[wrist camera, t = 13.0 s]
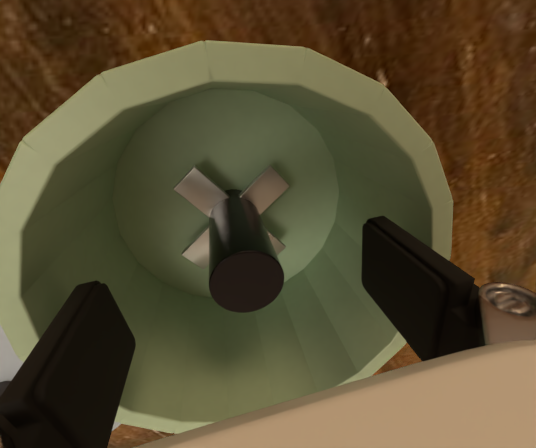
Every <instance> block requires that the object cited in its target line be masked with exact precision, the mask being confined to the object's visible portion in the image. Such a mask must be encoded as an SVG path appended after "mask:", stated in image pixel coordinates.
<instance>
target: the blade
mask: <svg viewBox="0 0 536 448" xmlns="http://www.w3.org/2000/svg"><path fill="white" fill-rule="evenodd" d="M289 187H290V185H289V184H288V183H287V182H286V181H285V180H284V178H283V177H282V176H281V175H280V174H279V173H278V172H277V171H276V170H275V169H274V168H273V167H272V166H271V165H270V164H269V165H268V166H267V167H266V168H265V169H264V170H263V171H262V172H261V173H260V174H259V175H258V176H257V177H256V178H255V179H254V180H253V181H252V182H251V183H250V184H249V185H248V186H247V187H246V188H245V189H244V190H243V191H241V190H237V189H229V190H225V191H224V190H223V189H221V188H220V187H219V186H218V185H217V184H216V183H215V182H214V181H212V180H211V179H210V178H209V177H208V176H207V175H206V174H204V173H203V172H202V171H201V170H200V169H199V168H198V167H196V166H193V168H192V169H191V170H190V171H189V172H188V173H187V174H186V175H185V176H184V177H183V178H182V179H181V180H180V181H179V182H178V184H177V185H176V186H175V187H174V190H175V191H176V192H177V193H179V194H180V195H181V196H182V197H184V198H185V199H186V200H187V201H189V202H190V203H191V204H192V205H194V206H195V207H196V208H197V209H199V210H200V211H201V212H202V213H204V214H205V215H206V216H207V217H209V225H208V226H207V227H206V228H205V229H204V230H203V231H202V232H201V233H200V234H199V235H198V236H197V237H196V238H195V239H194V240H193V241H192V242H191V243H190V244H189V245H188V246H187V247H186V248H185V249H184V250H183V251H182V256H184V257H185V258H187V259H188V260H190V261H191V262H193V263H194V264H196V265H197V266H199V267H200V268H202V269H205V268H206V267H207V266H208V265H209V291H210V294H211V296H212V298H213V299H214V301H215V302H216V303H217V304H218V305H220V306H221V307H222V308H224V309H226V310H229V311H232V312H238V313H247V312H253V311H257V310H259V309H262V308H264V307H266V306H267V305H269V304H270V303H271V302H273V301H274V300H275V299H276V298H277V296H278V295H279V294H280V292H281V290H282V287H283V284H284V271H283V269H282V266H281V264H280V261H279V259H278V257H277V255H278V254H279V253H280V252H281V251H283V250H284V249H285V248H286V246H285V244H284V243H283V242H282V241H281V240H279V239H278V238H277V237H276V236H275V235H274V234H273V233H271V232H270V231H269V230H268V229H267V228H266V227H265V226H264V223H263V221H262V218H261V216H260V215H261V214H262V213H263V212H264V211H265V210H266V209H267V208H268V207H269V206H270V205H271V204H272V203H273V202H274V201H275V200H276V199H277V198H278V197H279V196H280V195H281V194H282V193H283V192H284V191H286V190H287V189H288V188H289Z"/></svg>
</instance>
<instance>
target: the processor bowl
mask: <svg viewBox="0 0 536 448" xmlns="http://www.w3.org/2000/svg"><path fill="white" fill-rule="evenodd" d="M22 140H23V141H21V142H20V143H19V145H18V147H17V149H16V152H15V154H14V156H13V158H12V160H11V162H10V165H9V167H8V169H7V171H6V173H5V175H4V178H3V180H2V182H1V184H0V325H1V327H2V329H3V331H4V333H5V334H6V336H7V338H8V340H9V342H10V344H11V346H12V348H13V350H14V352H15V354H16V355H17V356H18V358H19V359H20V360H21V361H22V362H23V363H24V361H25V360H26V359H27V357H28V356H29V354H30V353H31V351H32V350H33V348H34V347H35V345H36V344H37V342H38V341H39V340H40V338H41V337H42V335H43V334H44V332H45V331H46V329H47V328H48V326H49V325H50V323H51V322H52V321H53V319H54V318H55V316H56V315H57V313H58V312H59V310H60V309H61V307H62V306H63V305H64V303H65V302H66V300H67V299H68V297H69V296H70V294H71V293H72V291H73V290H74V288H75V287H76V286H77V285H79V284H83V283H87V282H91V281H96V280H97V281H99V282H101V284H102V283H105V284H106V285H107V286H108V288H109V290H110V292H111V294H112V296H113V297H114V299H115V301H116V303H117V305H118V307H119V309H120V311H121V313H122V315H123V316H124V318H125V320H126V322H127V324H128V326H129V328H130V330H131V332H132V334H133V335H134V338H135V342H136V347H135V351H134V355H133V358H132V362H131V365H130V369H129V372H128V376H127V379H126V383H125V386H124V390H123V393H122V397H121V400H120V404H119V407H118V411H117V414H116V418H115V422H119V423H121V424H127V425H132V426H137V427H142V428H147V429H152V430H157V431H162V432H167V433H174V434H179V433H182V432H185V431H188V430H192V429H195V428H198V427H202V426H205V425H208V424H212V423H215V422H218V421H222V420H225V419H228V418H232V417H235V416H238V415H242V414H245V413H248V412H252V411H255V410H259V409H262V408H265V407H269V406H272V405H275V404H279V403H282V402H286V401H289V400H292V399H296V398H299V397H302V396H306V395H309V394H313V393H316V392H319V391H323V390H326V389H330V388H333V387H336V386H340V385H343V384H347V383H350V382H354V381H357V380H360V379H364V378H367V377H371V376H372V375H373V374H374V373H375V372H376V371H377V370H378V369H379V368H380V367H382V366H383V365H384V364H385V363H386V362H387V361H388V360H389V359H390V358H391V357H392V356H394V355H395V354H396V353H397V352H398V351H399V350H400V349H401V348H402V347H403V345H405V344H406V340H405V339H404V338H403V337H402V335H401V334H400V333H399V332H398V330H397V329H396V328H395V327H394V325H393V324H392V323H391V322H390V320H389V319H388V318H387V317H386V315H385V314H384V313H383V312H382V310H381V309H380V308H379V307H378V305H377V304H376V303H375V302H374V300H373V299H372V298H371V297H370V295H369V294H368V293H367V292H366V290H365V289H364V287H363V285H362V281H361V272H362V227H363V224H364V223H366V221H367V219H369V218H374V217H378V216H385V217H387V218H388V219H390V220H391V221H392V222H394V223H395V224H397V225H398V226H400V227H401V228H402V229H404V230H405V231H407V232H408V233H410V234H411V235H413V236H414V237H415V238H417V239H418V240H420V241H421V242H423V243H424V244H425V245H427V246H428V247H430V248H431V249H433V250H434V251H436V252H437V253H438V254H440V255H441V256H443V257H444V258H446V259H447V260H448V261H449V260H450V257H451V256H450V255H451V242H452V219H453V200H452V195H451V192H450V189H449V186H448V183H447V180H446V177H445V174H444V171H443V168H442V165H441V162H440V159H439V156H438V153H437V150H436V147H435V144H434V143H433V142H432V139H431V138H430V137H429V136H428V134H427V133H426V132H425V131H424V130H423V129H422V128H421V126H420V125H419V124H418V123H417V122H416V121H415V120H414V118H413V117H412V116H411V115H410V114H409V113H408V112H407V110H406V109H405V108H404V107H403V106H402V105H401V104H400V102H399V101H398V100H397V99H396V98H395V97H394V96H393V94H392V93H391V92H390V91H389V90H388V89H387V88H385V86H384V85H383V84H381V83H379V82H377V81H375V80H373V79H371V78H369V77H367V76H365V75H363V74H361V73H359V72H357V71H355V70H353V69H351V68H348V67H346V66H344V65H342V64H340V63H338V62H336V61H334V60H332V59H330V58H328V57H326V56H324V55H322V54H320V53H318V52H315V51H313V50H311V49H309V48H306V49H305V48H304V47H299V46H284V45H270V44H255V43H241V42H226V41H212V40H206V41H205V42H203V41H199V42H196V43H192V44H189V45H186V46H183V47H180V48H177V49H173V50H170V51H167V52H164V53H161V54H158V55H154V56H151V57H148V58H145V59H142V60H139V61H135V62H132V63H129V64H126V65H123V66H120V67H116V68H113V69H110V70H107V71H104V72H102V73H101V75H97V76H95V77H94V78H93V79H92V80H91V81H89V82H88V83H87V84H86V85H85V86H84V87H82V88H81V89H80V90H79V91H78V92H76V93H75V94H74V95H73V96H72V97H71V98H69V99H68V100H67V101H66V102H65V103H63V104H62V105H61V106H60V107H59V108H57V109H56V110H55V111H54V112H53V113H52V114H50V115H49V116H48V117H47V118H46V119H44V120H43V121H42V122H41V123H40V124H38V125H37V126H36V127H35V128H34V129H33V130H31V131H30V132H29V133H28V134H27V135H25V136H24V137H23V139H22ZM269 164H270V165H271V166H272V167H273V168H274V169H275V170H276V171H277V172H278V173H279V174H280V175H281V176H282V177H283V178H284V180H285V181H286V182H287V183H288V184H289V185H290V187H289V188H288V189H287V190H286V191H284V192H283V193H282V194H281V195H280V196H279V197H278V198H277V199H276V200H275V201H274V202H273V203H272V204H271V205H270V206H269V207H268V208H267V209H266V210H265V211H264V212H263V213H262V214H261V215H260V216H261V218H262V221H263V223H264V226H265V227H266V228H267V229H268V230H269V231H270V232H271V233H273V234H274V235H275V236H276V237H277V238H278V239H279V240H281V241H282V242H283V243H284V244H285V246H286V248H285V249H284V250H283V251H281V252H280V253H279V254H278V255H277V257H278V259H279V261H280V264H281V266H282V269H283V271H284V284H283V287H282V290H281V292H280V294H279V295H278V296H277V298H276V299H275V300H274V301H273V302H271V303H270V304H269V305H267V306H266V307H264V308H262V309H259V310H257V311H253V312H247V313H238V312H232V311H229V310H226V309H224V308H222V307H221V306H220V305H218V304H217V303H216V302H215V301H214V299H213V298H212V296H211V294H210V291H209V265H208V266H207V267H206V268H205V269H202V268H200V267H199V266H197V265H196V264H194V263H193V262H191V261H190V260H188V259H187V258H185V257H184V256H182V251H183V250H184V249H185V248H186V247H187V246H188V245H189V244H190V243H191V242H192V241H193V240H194V239H195V238H196V237H197V236H198V235H199V234H200V233H201V232H202V231H203V230H204V229H205V228H206V227H207V226H208V225H209V217H207V216H206V215H205V214H204V213H202V212H201V211H200V210H199V209H197V208H196V207H195V206H194V205H192V204H191V203H190V202H189V201H187V200H186V199H185V198H184V197H182V196H181V195H180V194H179V193H177V192H176V191H175V190H174V187H175V186H176V185H177V184H178V182H179V181H180V180H181V179H182V178H183V177H184V176H185V175H186V174H187V173H188V172H189V171H190V170H191V169H192V168H193V166H196V167H198V168H199V169H200V170H201V171H202V172H203V173H204V174H206V175H207V176H208V177H209V178H210V179H211V180H212V181H214V182H215V183H216V184H217V185H218V186H219V187H220V188H221V189H223V190H224V191H225V190H229V189H237V190H241V191H243V190H244V189H245V188H246V187H247V186H248V185H249V184H250V183H251V182H252V181H253V180H254V179H255V178H256V177H257V176H258V175H259V174H260V173H261V172H262V171H263V170H264V169H265V168H266V167H267V166H268V165H269Z"/></svg>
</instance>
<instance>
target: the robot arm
mask: <svg viewBox="0 0 536 448" xmlns="http://www.w3.org/2000/svg"><path fill="white" fill-rule="evenodd" d="M474 280H475V279H474V278H473V277H471V276H470V275H469V274H467V273H466V272H464V271H463V270H461V269H460V268H459V267H457V266H456V265H454V264H453V263H451V262H450V261H448V260H447V259H446V258H444V257H443V256H441V255H440V254H438V253H437V252H436V251H434V250H433V249H431V248H430V247H428V246H427V245H425V244H424V243H423V242H421V241H420V240H418V239H417V238H415V237H414V236H413V235H411V234H410V233H408V232H407V231H405V230H404V229H402V228H401V227H400V226H398V225H397V224H395V223H394V222H392V221H391V220H390V219H388V218H387V217H385V216H378V217H374V218H369V219H367V221H366V223H364V224H363V227H362V272H361V281H362V285H363V287H364V289H365V290H366V292H367V293H368V294H369V295H370V297H371V298H372V299H373V300H374V302H375V303H376V304H377V305H378V307H379V308H380V309H381V310H382V312H383V313H384V314H385V315H386V317H387V318H388V319H389V320H390V322H391V323H392V324H393V325H394V327H395V328H396V329H397V330H398V332H399V333H400V334H401V335H402V337H403V338H404V339H405V340H406V342H407V343H408V344H409V345H410V347H411V348H412V349H413V350H414V352H415V353H416V354H417V355H418V357H419V358H420V359H421V360H422V361H423V362H419V363H416V364H412V365H409V366H405V367H402V368H398V369H395V370H391V371H388V372H385V373H381V374H378V375H374V376H371V377H367V378H364V379H360V380H357V381H354V382H350V383H347V384H343V385H340V386H336V387H333V388H330V389H326V390H323V391H319V392H316V393H313V394H309V395H306V396H302V397H299V398H296V399H292V400H289V401H286V402H282V403H279V404H275V405H272V406H269V407H265V408H262V409H259V410H255V411H252V412H248V413H245V414H242V415H238V416H235V417H232V418H228V419H225V420H222V421H218V422H215V423H212V424H208V425H205V426H202V427H198V428H195V429H192V430H188V431H185V432H182V433H179V434H175V435H172V436H169V437H165V438H162V439H159V440H155V441H152V442H149V443H146V444H142V445H139V446H136V447H132V448H536V293H534V292H532V291H531V290H529V289H526V288H524V287H521V286H518V285H514V284H510V283H503V282H492V283H487V284H484V285H482V286H481V287H480V288H479V287H478V286H476V285H475V284H474ZM135 347H136V342H135V338H134V335H133V334H132V332H131V330H130V328H129V326H128V324H127V322H126V320H125V318H124V316H123V315H122V313H121V311H120V309H119V307H118V305H117V303H116V301H115V299H114V297H113V296H112V294H111V292H110V290H109V288H108V286H107V285H106V284H105V283H102V284H101V282H99V281H97V280H96V281H91V282H87V283H83V284H79V285H77V286H76V287H75V288H74V290H73V291H72V293H71V294H70V296H69V297H68V299H67V300H66V302H65V303H64V305H63V306H62V307H61V309H60V310H59V312H58V313H57V315H56V316H55V318H54V319H53V321H52V322H51V323H50V325H49V326H48V328H47V329H46V331H45V332H44V334H43V335H42V337H41V338H40V340H39V341H38V342H37V344H36V345H35V347H34V348H33V350H32V351H31V353H30V354H29V356H28V357H27V359H26V360H25V361H24V363H23V364H22V366H21V367H20V369H19V370H18V372H17V373H16V375H15V376H14V378H13V379H12V380H11V382H10V383H9V385H8V386H7V388H6V389H5V391H4V392H3V394H2V395H1V397H0V448H107V446H108V442H109V439H110V435H111V432H112V428H113V425H114V421H115V418H116V414H117V411H118V407H119V404H120V400H121V397H122V393H123V390H124V386H125V383H126V379H127V376H128V372H129V369H130V365H131V362H132V358H133V355H134V351H135Z"/></svg>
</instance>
